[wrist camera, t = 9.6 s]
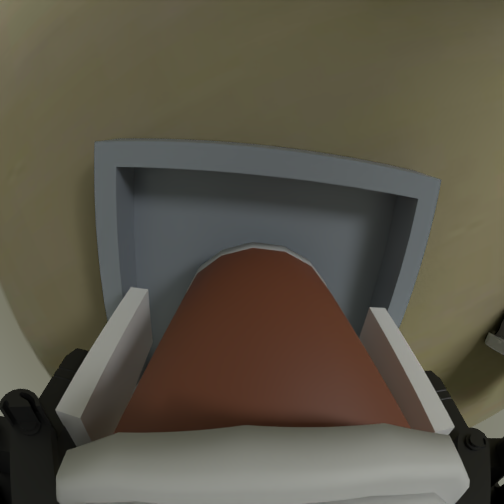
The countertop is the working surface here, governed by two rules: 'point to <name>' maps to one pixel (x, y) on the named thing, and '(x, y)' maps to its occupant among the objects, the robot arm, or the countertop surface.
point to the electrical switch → (496, 340)
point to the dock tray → (256, 220)
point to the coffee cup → (262, 405)
